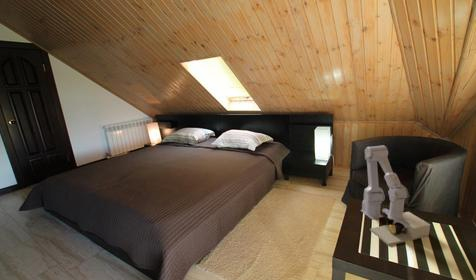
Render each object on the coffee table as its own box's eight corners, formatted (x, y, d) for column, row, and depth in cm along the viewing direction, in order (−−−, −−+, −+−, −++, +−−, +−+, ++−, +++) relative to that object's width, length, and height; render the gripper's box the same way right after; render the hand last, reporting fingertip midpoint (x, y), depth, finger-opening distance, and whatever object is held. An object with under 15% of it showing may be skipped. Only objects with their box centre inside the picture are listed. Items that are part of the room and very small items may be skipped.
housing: (370, 230, 120) (371, 219, 118) (407, 222, 124) (408, 211, 122) (388, 245, 109) (389, 233, 107) (428, 236, 112) (430, 224, 111)
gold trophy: (386, 229, 118) (386, 222, 117) (408, 224, 120) (409, 217, 119) (395, 236, 113) (395, 228, 111) (417, 230, 115) (418, 223, 114)
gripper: (378, 202, 118) (376, 224, 122) (402, 218, 104) (399, 241, 108) (389, 200, 119) (387, 221, 123) (414, 215, 105) (411, 238, 109)
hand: (393, 230), depth 115 cm, fingers closed on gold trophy, 4 cm apart
